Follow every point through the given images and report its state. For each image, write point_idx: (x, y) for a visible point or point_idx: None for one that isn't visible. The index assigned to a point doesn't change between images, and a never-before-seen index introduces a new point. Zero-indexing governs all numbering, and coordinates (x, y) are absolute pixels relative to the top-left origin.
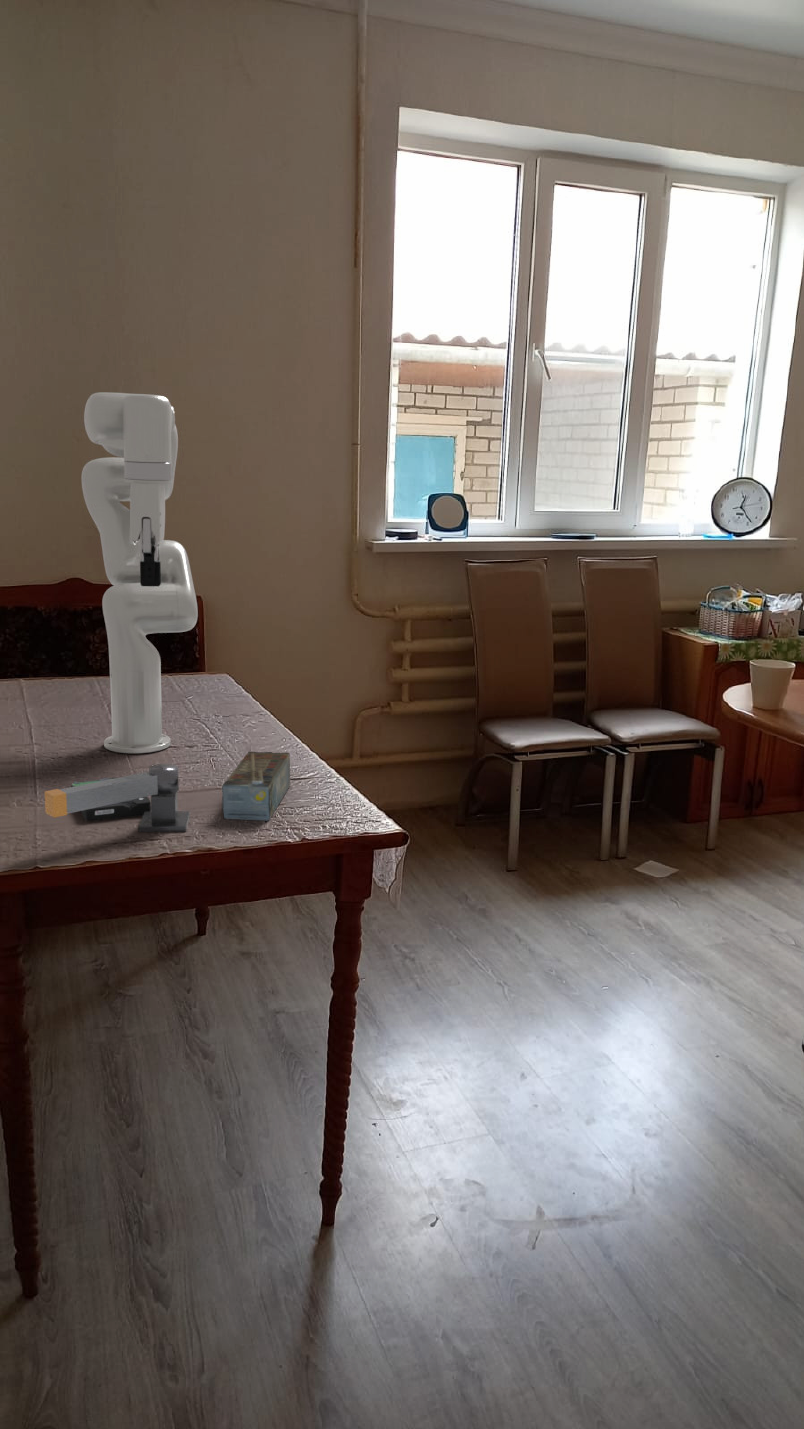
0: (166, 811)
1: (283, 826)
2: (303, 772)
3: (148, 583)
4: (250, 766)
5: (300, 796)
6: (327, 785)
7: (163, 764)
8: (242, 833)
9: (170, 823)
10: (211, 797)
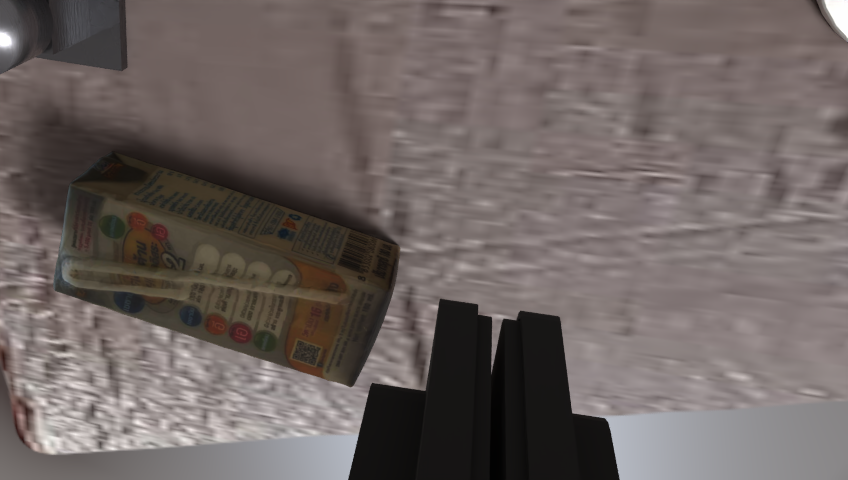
0: None
1: None
2: None
3: (426, 387)
4: (234, 276)
5: None
6: (356, 409)
7: (7, 32)
8: (4, 180)
9: None
10: (285, 137)
